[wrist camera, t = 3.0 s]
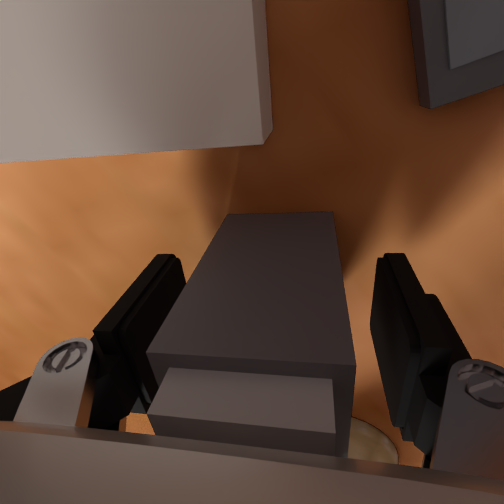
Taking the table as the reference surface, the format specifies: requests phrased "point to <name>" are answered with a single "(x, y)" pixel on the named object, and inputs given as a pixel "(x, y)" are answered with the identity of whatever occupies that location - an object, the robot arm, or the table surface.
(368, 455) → the hand bell
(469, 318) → the table surface
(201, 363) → the block
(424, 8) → the phone
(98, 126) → the plate
